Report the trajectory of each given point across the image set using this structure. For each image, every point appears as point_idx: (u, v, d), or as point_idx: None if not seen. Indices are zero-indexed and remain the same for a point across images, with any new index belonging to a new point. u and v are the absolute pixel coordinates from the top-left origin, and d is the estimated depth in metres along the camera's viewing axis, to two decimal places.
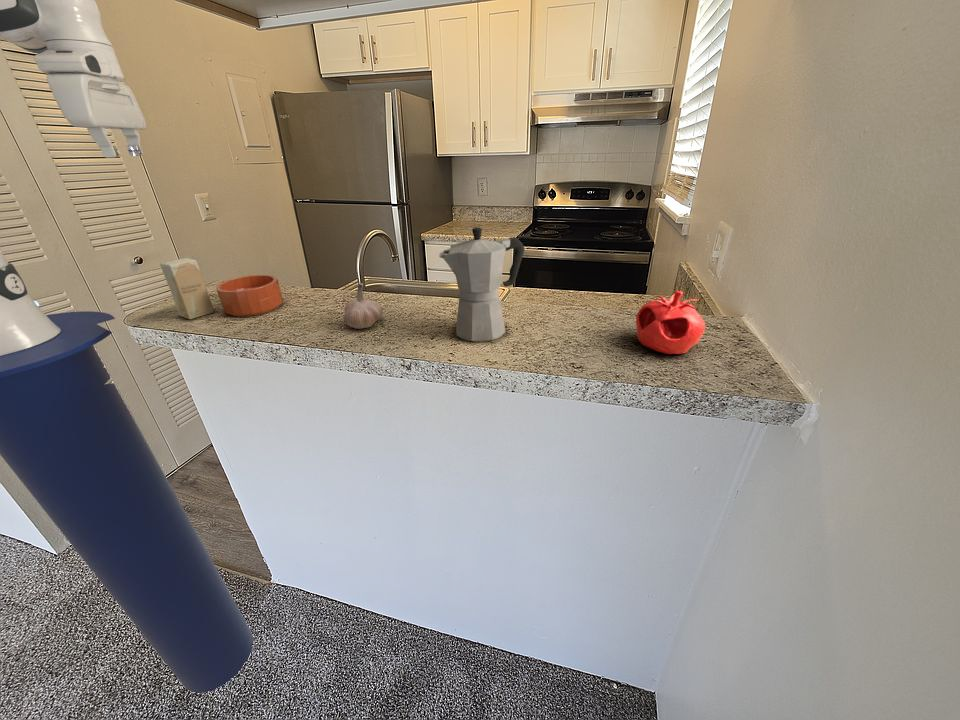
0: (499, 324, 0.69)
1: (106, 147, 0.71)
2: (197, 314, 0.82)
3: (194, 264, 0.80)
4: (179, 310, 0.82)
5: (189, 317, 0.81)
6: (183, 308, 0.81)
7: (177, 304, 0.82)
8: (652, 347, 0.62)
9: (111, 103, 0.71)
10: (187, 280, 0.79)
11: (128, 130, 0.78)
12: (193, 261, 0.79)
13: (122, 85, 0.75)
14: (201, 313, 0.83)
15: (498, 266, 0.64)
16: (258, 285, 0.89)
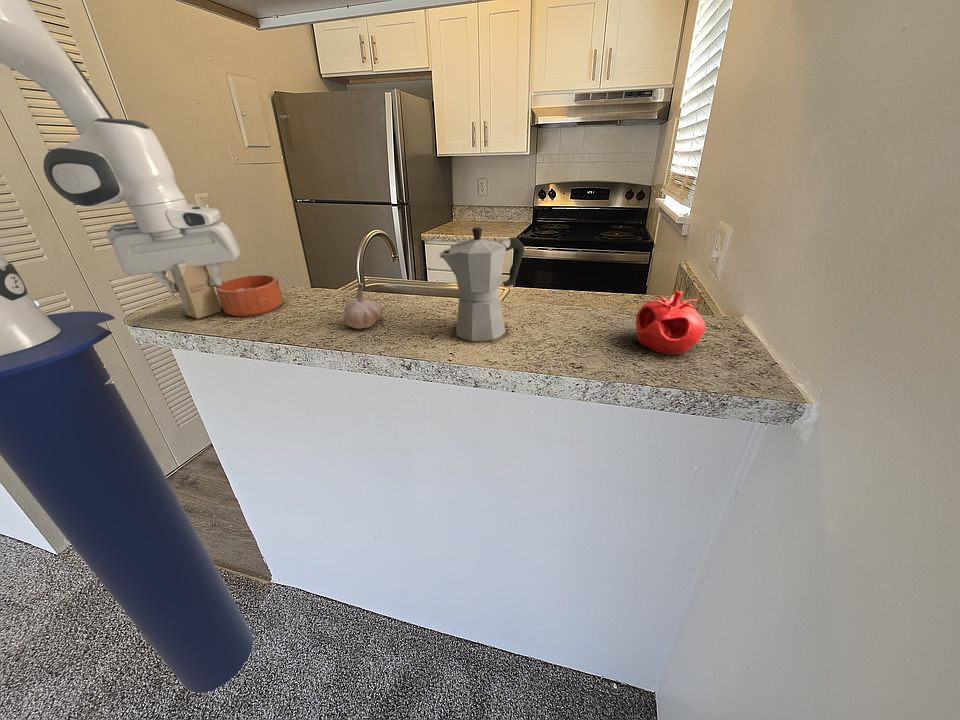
0: (499, 324, 0.69)
1: (218, 277, 0.82)
2: (205, 313, 0.83)
3: None
4: (186, 309, 0.83)
5: (197, 316, 0.82)
6: (191, 307, 0.81)
7: (184, 303, 0.82)
8: (652, 347, 0.62)
9: None
10: (195, 280, 0.80)
11: (163, 271, 0.79)
12: None
13: None
14: (208, 312, 0.83)
15: (498, 266, 0.64)
16: (258, 285, 0.89)
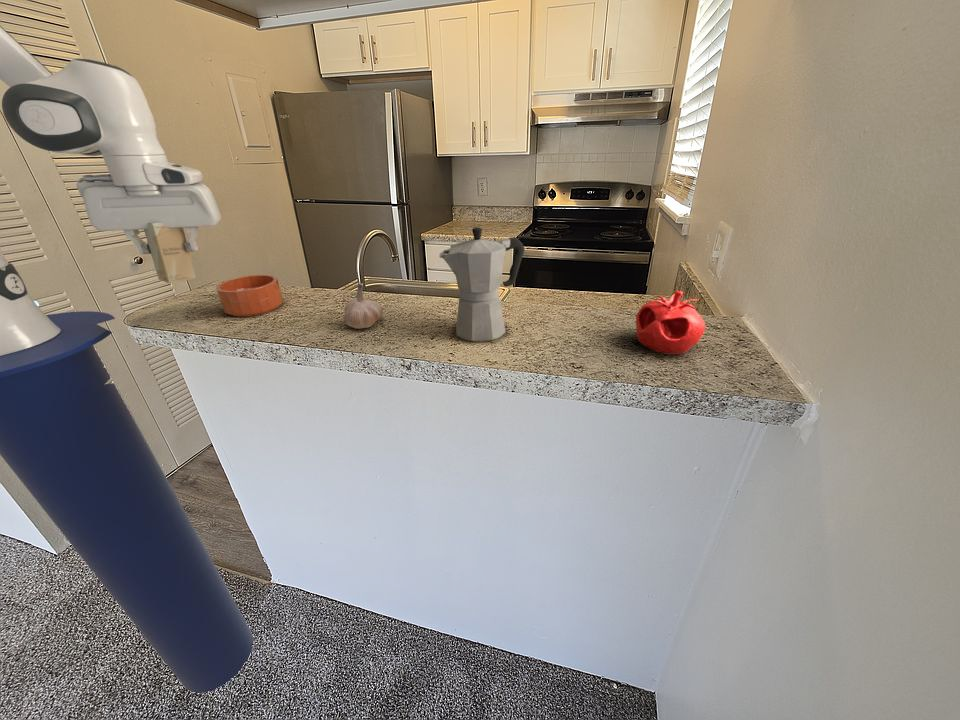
0: (499, 324, 0.69)
1: (194, 242, 0.78)
2: (177, 279, 0.78)
3: None
4: (158, 273, 0.78)
5: (168, 281, 0.77)
6: (163, 271, 0.77)
7: (156, 266, 0.78)
8: (652, 347, 0.62)
9: None
10: (170, 242, 0.76)
11: (135, 229, 0.75)
12: None
13: None
14: (182, 278, 0.79)
15: (498, 266, 0.64)
16: (258, 285, 0.89)
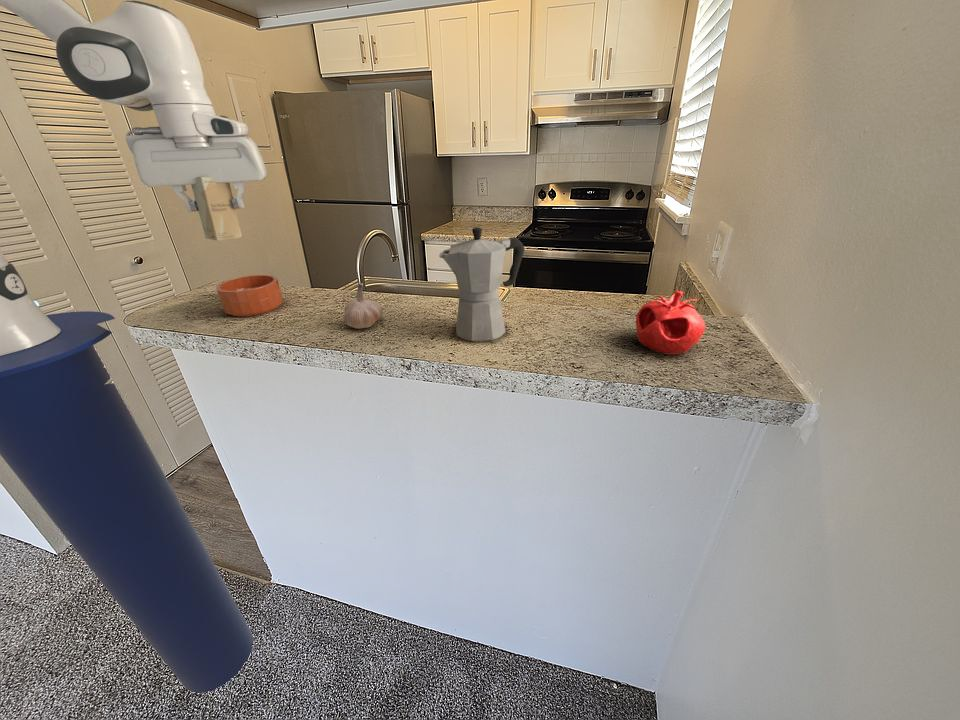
0: (499, 324, 0.69)
1: (241, 199, 0.77)
2: (225, 236, 0.77)
3: None
4: (205, 231, 0.77)
5: (216, 238, 0.76)
6: (211, 228, 0.76)
7: (204, 224, 0.76)
8: (652, 347, 0.62)
9: None
10: (218, 198, 0.74)
11: (183, 186, 0.74)
12: None
13: None
14: (229, 236, 0.78)
15: (498, 266, 0.64)
16: (258, 285, 0.89)
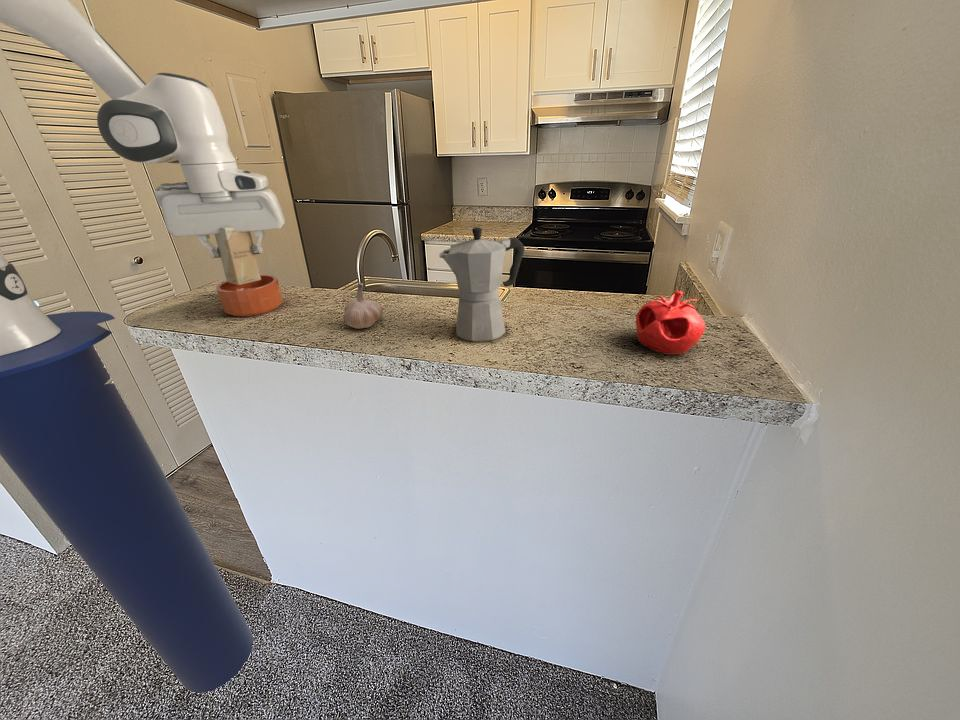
0: (499, 324, 0.69)
1: (261, 245, 0.81)
2: (245, 280, 0.82)
3: None
4: (227, 276, 0.82)
5: (238, 283, 0.81)
6: (232, 273, 0.80)
7: (226, 269, 0.81)
8: (652, 347, 0.62)
9: None
10: (239, 245, 0.79)
11: (206, 234, 0.78)
12: None
13: None
14: (249, 280, 0.82)
15: (498, 266, 0.64)
16: (258, 285, 0.89)
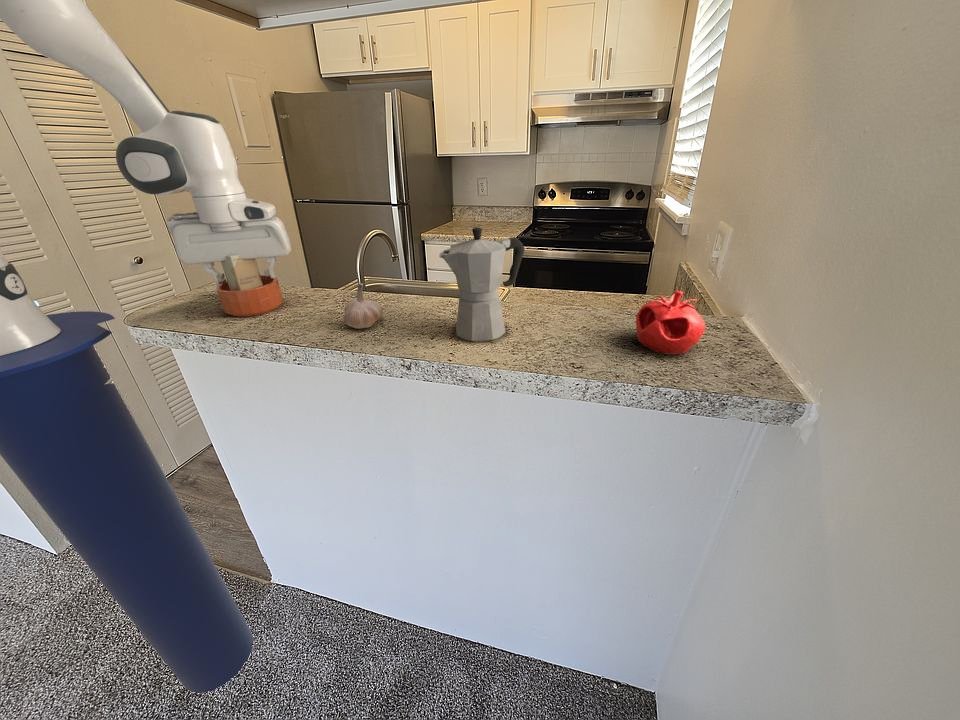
0: (499, 324, 0.69)
1: (272, 270, 0.84)
2: None
3: None
4: None
5: None
6: None
7: None
8: (652, 347, 0.62)
9: None
10: (245, 272, 0.81)
11: (211, 262, 0.81)
12: None
13: None
14: None
15: (498, 266, 0.64)
16: None
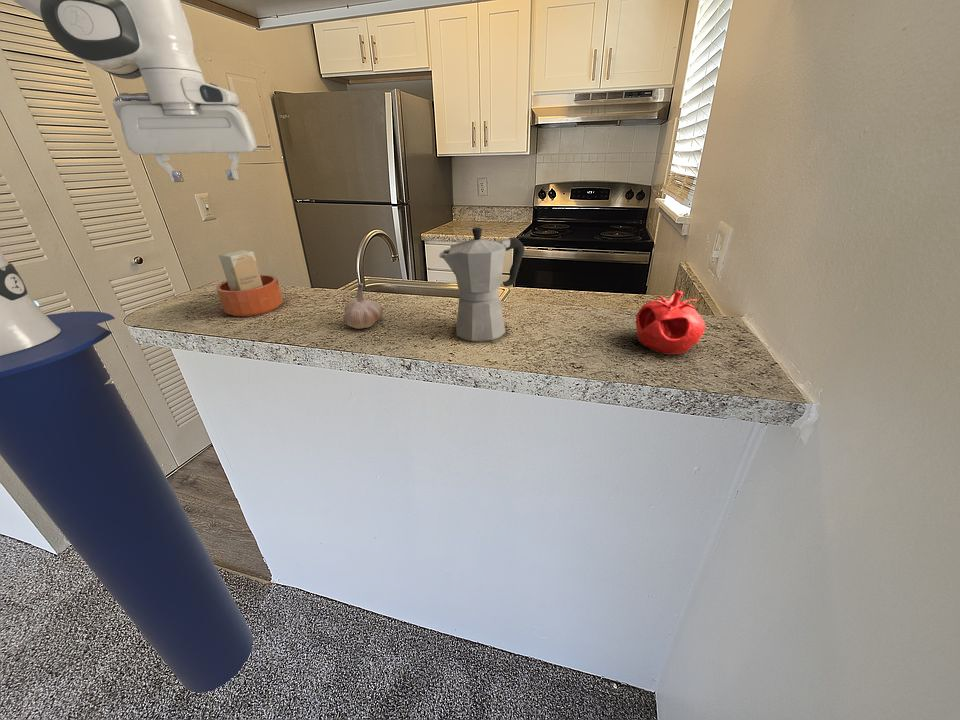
0: (499, 324, 0.69)
1: (235, 170, 0.76)
2: None
3: (252, 255, 0.82)
4: None
5: None
6: None
7: None
8: (652, 347, 0.62)
9: None
10: (245, 272, 0.81)
11: (166, 155, 0.73)
12: (250, 253, 0.82)
13: None
14: None
15: (498, 266, 0.64)
16: None
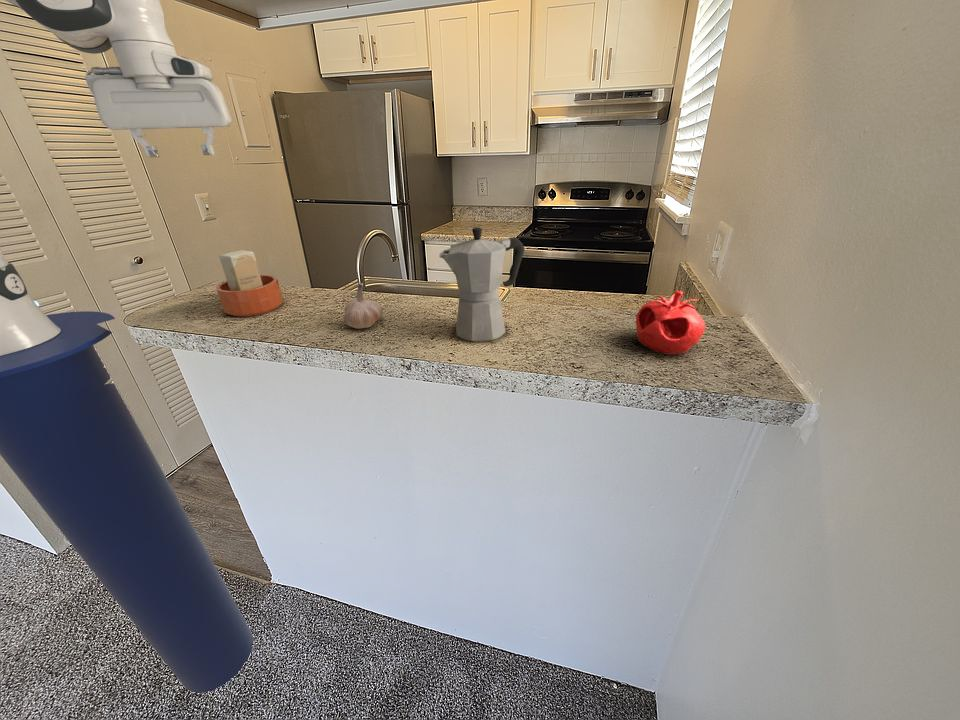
0: (499, 324, 0.69)
1: (211, 145, 0.77)
2: None
3: (252, 255, 0.82)
4: None
5: None
6: None
7: None
8: (652, 347, 0.62)
9: None
10: (245, 272, 0.81)
11: (141, 130, 0.73)
12: (250, 253, 0.82)
13: None
14: None
15: (498, 266, 0.64)
16: None
